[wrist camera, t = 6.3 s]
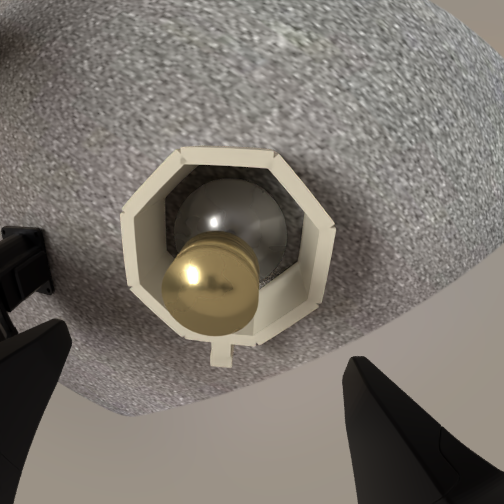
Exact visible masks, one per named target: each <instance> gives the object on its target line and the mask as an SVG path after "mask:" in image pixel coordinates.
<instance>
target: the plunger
mask: <svg viewBox="0 0 504 504" xmlns="http://www.w3.org/2000/svg"><path fill="white" fill-rule="evenodd" d="M174 239H175V244H176V248H177V250H178V253H179V254H178V255H177V256H176V258H175V259H174V261H173V262H172V264H171V265H170V266H169V268H168V269H167V271H166V273H165V275H164V277H163V281H162V287H161V288H162V298H163V301H164V304H165V306H166V308H167V310H168V312H169V313H170V314H171V316H172V317H173V318H174V319H175V320H176V321H177V322H178V323H179V324H181V325H182V326H183V327H185V328H187V329H188V330H190V331H192V332H195V333H198V334H201V335H206V336H225V335H229V334H232V333H235V332H237V331H239V330H241V329H242V328H244V327H245V326H246V325H247V324H248V323H249V322H250V321H251V320H252V319H253V317H254V315H255V313H256V311H257V308H258V302H259V281H261V280H262V279H264V278H265V277H267V276H268V275H269V274H270V273H272V271H273V270H274V269H275V268H276V267H277V266H278V264H279V263H280V261H281V259H282V257H283V255H284V252H285V249H286V244H287V227H286V223H285V218H284V215H283V213H282V210H281V208H280V206H279V205H278V203H277V202H276V200H275V199H274V198H273V197H272V196H271V195H270V194H269V193H268V192H267V191H266V190H265V189H263V188H262V187H260V186H258V185H257V184H255V183H252V182H250V181H247V180H243V179H238V178H223V179H217V180H214V181H211V182H208V183H206V184H204V185H202V186H201V187H199V188H198V189H196V190H195V191H194V192H193V193H191V194H190V195H189V196H188V197H187V198H186V200H185V201H184V202H183V204H182V205H181V207H180V209H179V211H178V213H177V216H176V219H175V225H174Z"/></svg>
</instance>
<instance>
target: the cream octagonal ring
mask: <svg viewBox="0 0 504 504" xmlns="http://www.w3.org/2000/svg"><path fill="white" fill-rule="evenodd" d="M198 165H223V166H241V167H256V168H268V169H269V170H270V171H271V172H272V174H273V175H274V176H275V177H276V178H277V179H278V181H279V182H280V183H281V184H282V185H283V186H284V188H285V189H286V190H287V191H288V192H289V194H290V195H291V196H292V197H293V198H294V200H295V201H296V202H297V203H298V205H299V206H300V207H301V208H302V209H303V211H304V219H303V227H302V235H301V242H300V249H299V256H298V261H297V262H296V263H295V264H293V265H292V266H291V267H289V268H288V269H287V270H285V271H284V272H283V273H281V274H280V275H279V276H277V277H276V278H274V279H273V280H272V281H270V282H269V283H268V284H266V285H265V286H264V287H262V288H261V289H259V302H258V308H257V311H256V313H255V315H254V317H253V319H252V320H251V321H250V322H249V323H248V324H247V325H246V326H245V327H244V328H242V329H241V330H239V331H237V332H235V333H232V334H229V335H225V336H206V335H201V334H198V333H195V332H192V331H190V330H188V329H187V328H185V327H183V326H182V325H181V324H179V323H178V322H177V321H176V320H175V319H174V318H173V317H172V316H171V314H170V313H169V312H168V310H167V308H166V306H165V304H164V301H163V298H162V288H161V287H162V281H163V277H164V275H165V273H166V271H167V269H168V268H169V266H170V265H171V264H172V262H173V261H174V258H173V257H172V256H171V255H170V253H169V252H168V251H167V247H166V217H165V197H166V196H167V195H168V194H169V193H170V192H171V191H172V190H173V189H174V188H175V187H176V186H177V185H178V184H179V183H180V182H181V181H182V180H183V179H184V178H185V177H186V176H187V175H188V174H189V173H190V172H191V171H193V170H194V169H195V168H196V167H197V166H198ZM122 210H123V212H122V213H120V220H121V233H122V244H123V253H124V262H125V270H126V277H127V284H128V286H132V287H131V288H130V290H131V291H132V292H133V293H134V294H135V295H136V296H137V297H138V298H139V299H140V300H141V301H142V302H143V303H144V304H145V305H146V306H147V307H149V308H150V309H151V310H152V311H153V312H154V313H155V314H156V315H157V316H158V317H159V318H160V319H162V320H163V321H164V322H165V323H166V324H167V325H168V326H169V327H170V328H172V329H173V330H174V331H175V332H176V333H177V334H178V335H180V336H181V337H183V336H184V335H185V339H189V340H197V341H205V342H211V346H212V350H211V354H210V365H211V366H217V367H226V368H232V361H233V354H234V346H235V345H245V346H256V343H258V344H259V345H261V344H263V343H264V342H266V341H268V340H269V339H271V338H272V337H274V336H276V335H277V334H279V333H280V332H282V331H284V330H285V329H287V328H288V327H290V326H291V325H293V324H294V323H296V322H297V321H299V320H300V319H302V318H303V317H305V316H306V315H308V314H309V313H311V312H312V311H314V310H315V309H317V308H318V307H319V305H318V303H322V299H323V295H324V290H325V285H326V280H327V276H328V271H329V265H330V260H331V255H332V250H333V244H334V238H335V232H336V228H335V227H334V224H335V223H334V222H333V220H332V219H331V218H330V216H329V215H328V214H327V212H326V211H325V210H324V209H323V207H322V206H321V205H320V203H319V202H318V201H317V200H316V198H315V197H314V196H313V194H312V193H311V192H310V191H309V189H308V188H307V187H306V186H305V184H304V183H303V182H302V181H301V180H300V178H299V177H298V176H297V175H296V173H295V172H294V171H293V170H292V169H291V167H290V166H289V165H288V164H287V163H286V162H285V160H284V159H283V158H282V157H281V156H280V155H279V154H278V153H277V152H275V151H273V150H271V149H263V148H249V147H231V146H189V147H181V149H176V150H175V151H174V152H173V153H172V154H171V155H170V156H169V157H168V158H167V159H166V160H165V161H164V162H163V163H162V164H161V165H160V166H159V167H158V168H157V169H156V170H155V171H154V172H153V174H152V175H151V176H150V177H149V178H148V179H147V180H146V181H145V182H144V183H143V185H142V186H141V187H140V188H139V189H138V190H137V191H136V192H135V194H134V195H133V196H132V197H131V198H130V199H129V200H128V202H127V203H126V204H125V205H124V206H123V208H122Z"/></svg>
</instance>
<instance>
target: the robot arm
mask: <svg viewBox="0 0 504 504" xmlns="http://www.w3.org/2000/svg"><path fill="white" fill-rule="evenodd" d="M1 232H2V238H3V240H1V241H0V504H13V503H14V499H15V495H16V491H17V488H18V484H19V480H20V477H21V474H22V472H21V471H22V470H23V467H24V464H25V461H26V458H27V455H28V452H29V449H30V446H31V444H32V441H33V438H34V435H35V433H36V430H37V428H38V425H39V423H40V421H41V418H42V416H43V413H44V411H45V409H46V406H47V404H48V402H49V400H50V398H51V395H52V393H53V391H54V389H55V387H56V385H57V382H58V380H59V377H60V375H61V372H62V369H63V367H64V364H65V361H66V359H67V356H68V354H69V351H70V349H71V346H72V339H71V336H70V333H69V331H68V328H67V325H66V323H65V321H63V320H60V319H56V318H55V319H52V320H49V321H47V322H45V323H42V324H40V325H38V326H35V327H33V328H31V329H29V330H26V331H24V332H22V333H20V334H18V331H17V329H16V327H14V325H13V323H12V321H11V319H10V317H9V315H8V312H11V311H12V310H14V309H15V308H16V307H17V306H18V305H19V304H20V303H21V302H22V301H24V300H26V299H27V298H28V297H29V296H31V295H32V294H33V293H34V292H39V293H43V294H47V295H52V294H53V293H54V287H53V283H52V279H51V275H50V270H49V266H48V261H47V256H46V251H45V246H44V240H43V234H42V231H41V229H40V228H32V227H14V226H4V227H3V228H2V229H1ZM342 385H343V395H344V396H343V397H344V407H345V408H344V409H345V424H346V431H347V436H348V442H349V448H350V453H351V459H352V466H353V472H354V478H355V485H356V492H357V499H358V504H504V472H503V471H501V470H499V469H497V468H496V467H495V466H493V465H492V464H490V463H489V462H487V461H486V460H485V459H483V458H482V457H480V456H479V455H477V454H476V453H474V452H473V451H472V450H470V449H469V448H468V447H466V446H465V445H464V444H462V443H461V442H460V441H459V440H458V439H456V438H455V437H454V436H453V435H452V434H450V433H449V432H448V431H447V430H446V429H445V428H444V427H441V425H440V424H439V423H438V422H437V421H436V420H435V419H434V418H432V417H431V416H430V415H429V414H428V413H427V412H426V411H425V410H424V409H423V408H421V407H420V406H419V405H418V404H417V403H416V402H415V401H413V399H411V398H410V397H409V396H408V395H407V394H406V393H405V392H404V391H403V390H401V389H400V388H399V387H398V386H397V385H396V384H395V383H394V382H392V381H391V380H390V379H389V378H388V377H387V376H386V375H385V374H384V373H383V372H381V371H380V370H379V369H378V368H377V367H376V366H375V365H374V364H373V363H371V362H370V361H369V360H368V359H367V358H366V357H364V356H353V357H351V358H350V360H349V362H348V364H347V367H346V370H345V372H344V375H343V379H342Z"/></svg>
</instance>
